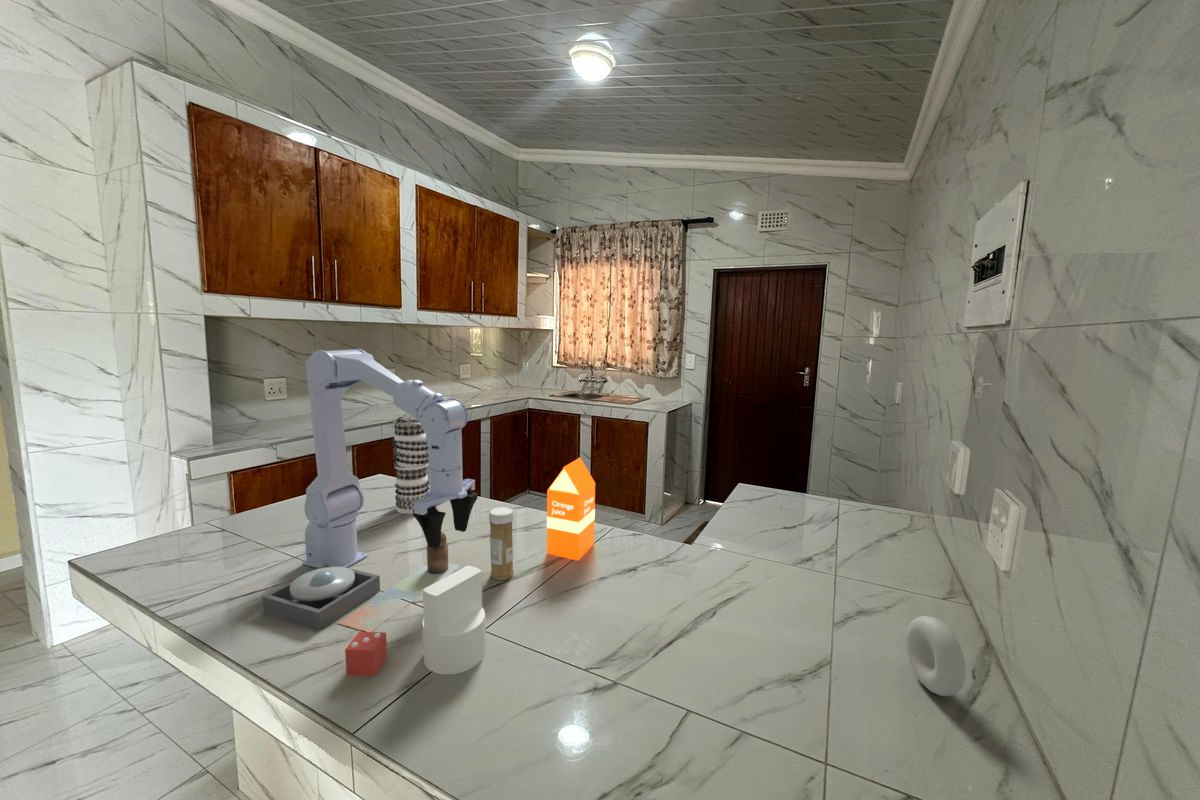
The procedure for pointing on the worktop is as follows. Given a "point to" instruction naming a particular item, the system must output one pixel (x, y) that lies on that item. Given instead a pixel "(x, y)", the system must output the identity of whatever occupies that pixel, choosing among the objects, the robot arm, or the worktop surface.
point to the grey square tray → (315, 618)
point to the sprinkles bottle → (501, 543)
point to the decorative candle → (409, 462)
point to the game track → (398, 594)
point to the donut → (935, 656)
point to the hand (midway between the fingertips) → (447, 538)
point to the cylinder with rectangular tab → (454, 622)
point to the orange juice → (571, 512)
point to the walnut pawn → (438, 557)
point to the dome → (322, 583)
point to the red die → (366, 654)
